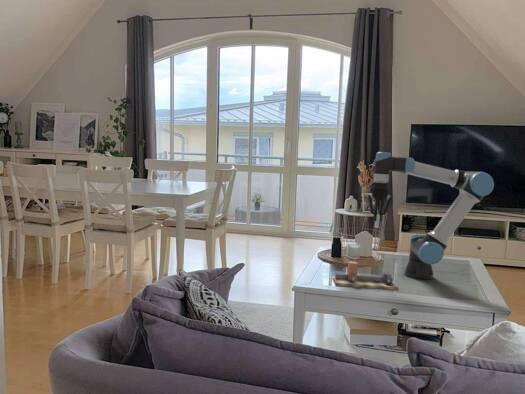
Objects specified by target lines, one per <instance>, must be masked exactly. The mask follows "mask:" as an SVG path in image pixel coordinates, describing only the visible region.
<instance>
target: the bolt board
mask: <svg viewBox="0 0 525 394" xmlns="http://www.w3.org/2000/svg"><path fill="white" fill-rule="evenodd" d="M331 277H332V282H333V283H334V285H335V286H337V287H338V286H339V287H340V286H342V287H352V288H353V287H354V288H367V289H380V290H382V289H383V290H393V291H394V290H395V291H398V290H399V287H398V285H397V284H396V283H395V282H394V280H393V281H392V283H389V284H387V283H382V282H369V281H356V280H355V281H352V280H342V279H335V276H331Z"/></svg>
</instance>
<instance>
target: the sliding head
mask: <svg viewBox="0 0 525 394" xmlns="http://www.w3.org/2000/svg"><path fill="white" fill-rule="evenodd" d="M358 266H359V264H358V262H357V261H350V260H348V261H347V270H346V271H347V272H346V274H348V280H352V281H355V280H357V275H358Z"/></svg>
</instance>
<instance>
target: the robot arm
mask: <svg viewBox="0 0 525 394" xmlns="http://www.w3.org/2000/svg"><path fill="white" fill-rule="evenodd" d="M373 171H374V174H373V181H374V182H373V184H372V190H371V193H370V194H367V195H366V197H367V199H368V204H369V205H368V206H369V210H370V214H372V215H373V222H374V228H375V229H379V228H380V222H382V219H383V218H382V217H383V216H385V215H386V214H387V211H388V208H389V205H390V203H391V201H392V200H393V197H392V196H391V195H390V194H389V192H388V191H389V180H390V172H395V173H396V172H398V173H401V174H406V175H409V176H413V177H418V178H422V179H425V180H426V179H427V180H430V181H435V182H437V183H442V184H446V185H450V187H452V188H455V189H457V190H459V194H458V196H457V197H456V198H455V200H453V202H452V204H451V205H450V206H449V208H448V209H447V211H446V212H445V213H444V214H443V216H442V218H441V219H440V220H439V221H438V224H437V225H435V227H434V229H433V230H432V231H431V232H427V233H426V234H421V233H420V234H419V233H413V234H412V235H411V236H410V245H409V255H408V262H407V264H406V266H405V268H404V271H403V272H404V273H403V274H404V275H405V276H406V277H409V278H413V279H418V280H432V279H433V278H434V270H433V266H432V265H436V264H438V263H440V261H442V260H443V258H444V254H445V250H446V249H447V247H448V241H449V239H450V238H451V236H452V235H453V234H454V233H455V231H456V230H457V228H458V227H460V225H461V223H462V222H463V221H464V219H465V218H466V216H467V215H468V214H469V213H470V211H471V209H472V208H473V207H474V205H475V204H478V203H480V202H481V201H482V200H483V198H484V197H485V196H488V195H490V194H491V193H492V192H493V190H494V187H495V182H494V179H493V177H492V176H491V175H490V174H489V173H487V172H484V171H476V170H475V171H474V170H473V171H471V170H467V171H466V170H459V169H455V170H452V169H449V168H444V167H439V166H436V165H433V164H426V163H423V162H419V161H415V159H414V158H413V157H406V156H405V157H404V156H402V157H401V156H392V153H391V152H386V151H378V152H376V153H375V159H374V170H373ZM373 199H374V205H373ZM385 199H386V201H385V204H384V200H385Z"/></svg>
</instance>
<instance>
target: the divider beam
mask: <svg viewBox="0 0 525 394" xmlns="http://www.w3.org/2000/svg"><path fill="white" fill-rule="evenodd" d="M334 277H335V279H342V280H348V274H347V273H335V276H334ZM356 281H369V282H382V283H387V284H389V283H392V281H393V282H394V279H393V277H392V274H391V273H390V272H381V275H380V276H378V275H366V274H365V275H363V274H357V280H356Z"/></svg>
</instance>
